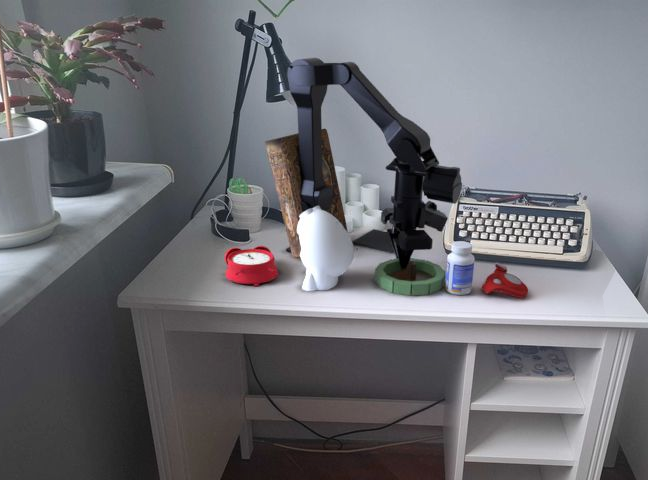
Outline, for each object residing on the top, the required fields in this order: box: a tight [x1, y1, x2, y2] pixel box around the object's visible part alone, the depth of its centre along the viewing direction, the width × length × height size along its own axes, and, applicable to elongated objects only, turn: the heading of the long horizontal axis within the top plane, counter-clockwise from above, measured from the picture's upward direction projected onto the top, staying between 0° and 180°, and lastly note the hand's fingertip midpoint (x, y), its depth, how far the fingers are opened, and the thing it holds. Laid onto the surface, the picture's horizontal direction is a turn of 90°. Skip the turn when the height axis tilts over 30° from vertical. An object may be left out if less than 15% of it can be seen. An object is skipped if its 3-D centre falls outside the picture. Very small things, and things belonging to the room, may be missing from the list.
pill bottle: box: [444, 240, 476, 296], centre depth 125 cm, size 5×5×10 cm
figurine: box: [297, 206, 355, 292], centre depth 125 cm, size 11×11×15 cm
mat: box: [352, 228, 395, 254], centre depth 150 cm, size 11×11×1 cm
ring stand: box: [389, 262, 433, 281], centre depth 129 cm, size 9×9×4 cm
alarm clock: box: [224, 245, 279, 287], centre depth 129 cm, size 10×6×15 cm
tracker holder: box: [480, 261, 529, 299], centre depth 128 cm, size 12×4×10 cm
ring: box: [374, 257, 446, 297], centre depth 130 cm, size 14×14×2 cm
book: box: [264, 128, 349, 260], centre depth 140 cm, size 16×6×25 cm, turn 152°
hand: (402, 266), depth 135 cm, fingers closed on ring, 1 cm apart
